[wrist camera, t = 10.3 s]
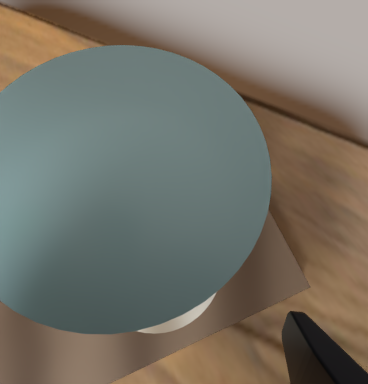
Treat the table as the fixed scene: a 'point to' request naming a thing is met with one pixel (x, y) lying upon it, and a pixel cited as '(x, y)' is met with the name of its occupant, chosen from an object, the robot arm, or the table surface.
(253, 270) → the comb board
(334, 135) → the table surface
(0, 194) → the teal capped cylinder
